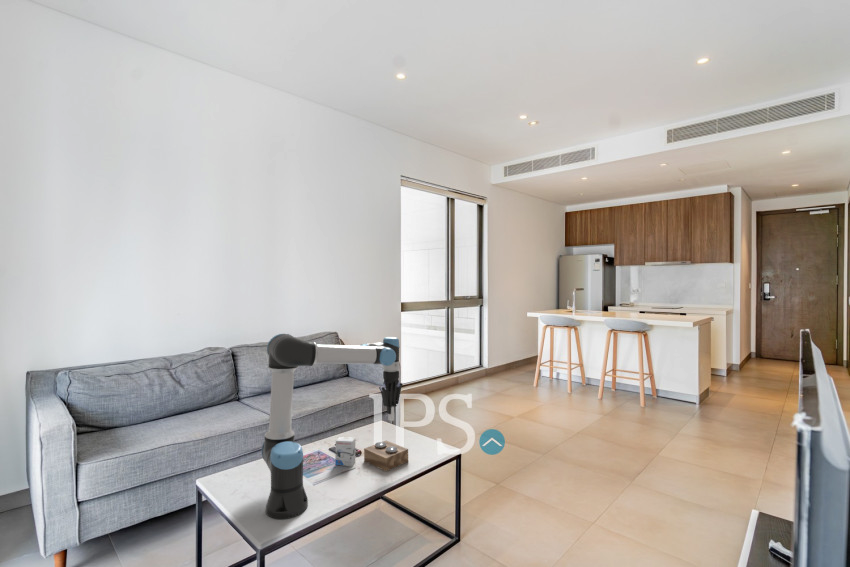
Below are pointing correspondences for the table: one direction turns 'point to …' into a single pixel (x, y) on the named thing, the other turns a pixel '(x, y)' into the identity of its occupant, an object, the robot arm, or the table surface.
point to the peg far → (380, 445)
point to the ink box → (345, 451)
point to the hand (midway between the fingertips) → (391, 420)
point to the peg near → (391, 450)
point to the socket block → (385, 456)
